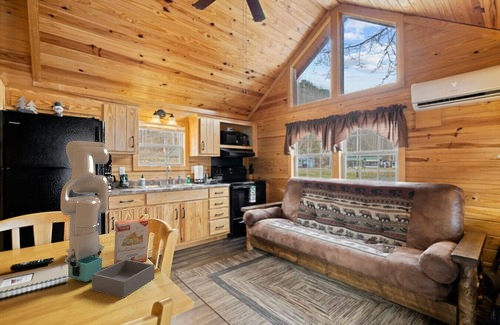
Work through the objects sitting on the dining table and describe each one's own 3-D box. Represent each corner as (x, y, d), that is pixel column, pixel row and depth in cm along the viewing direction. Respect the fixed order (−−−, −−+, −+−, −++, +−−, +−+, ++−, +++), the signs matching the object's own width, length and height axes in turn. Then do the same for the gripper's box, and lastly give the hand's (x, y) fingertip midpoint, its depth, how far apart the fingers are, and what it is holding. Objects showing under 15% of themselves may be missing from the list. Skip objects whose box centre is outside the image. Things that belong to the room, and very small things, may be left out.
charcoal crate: (91, 289, 94) (92, 274, 94) (125, 272, 109) (125, 259, 109) (123, 298, 89) (124, 281, 89) (154, 278, 104) (154, 264, 104)
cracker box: (116, 268, 113) (117, 223, 113) (113, 264, 117) (114, 221, 117) (147, 261, 121) (148, 219, 122) (144, 257, 126) (145, 217, 126)
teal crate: (68, 276, 100) (68, 260, 99) (84, 269, 106) (85, 253, 106) (85, 282, 96) (86, 264, 96) (101, 274, 103) (102, 257, 103)
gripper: (98, 223, 110) (97, 261, 111) (57, 234, 94) (56, 279, 94) (111, 225, 108) (110, 264, 108) (71, 237, 91) (70, 283, 92)
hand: (85, 271), depth 101 cm, fingers closed on teal crate, 7 cm apart
